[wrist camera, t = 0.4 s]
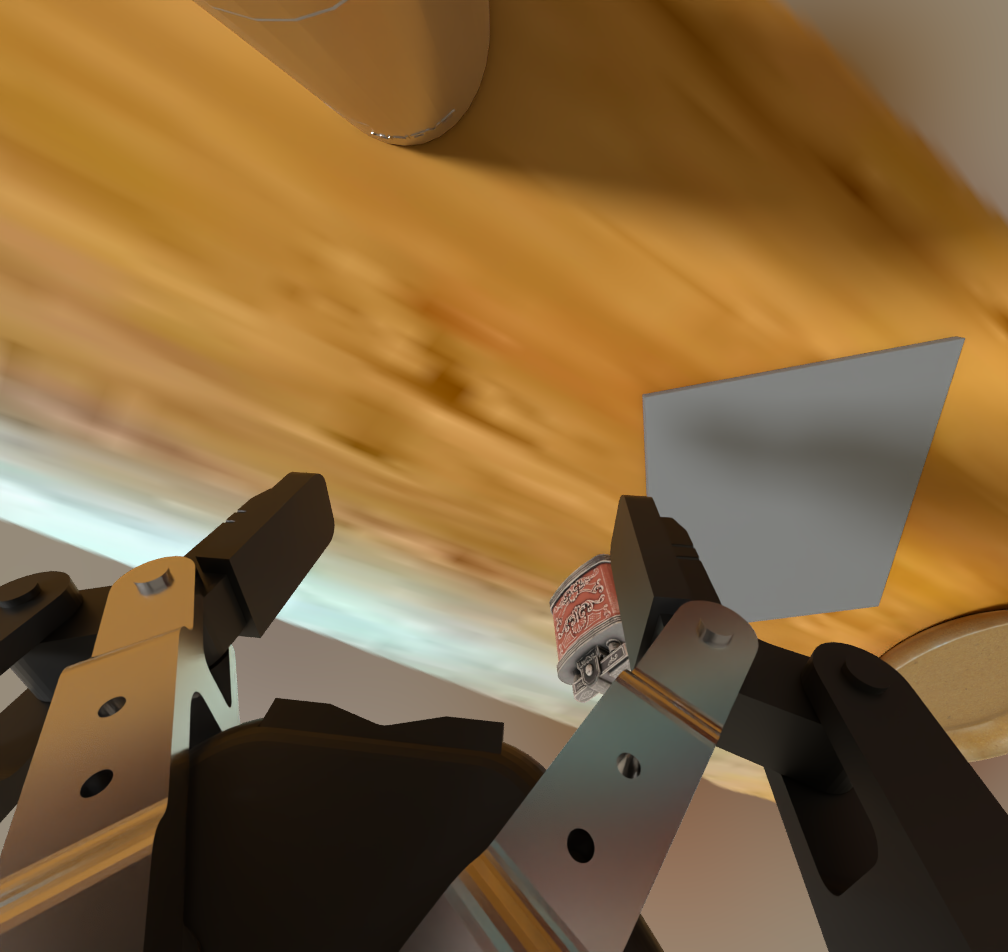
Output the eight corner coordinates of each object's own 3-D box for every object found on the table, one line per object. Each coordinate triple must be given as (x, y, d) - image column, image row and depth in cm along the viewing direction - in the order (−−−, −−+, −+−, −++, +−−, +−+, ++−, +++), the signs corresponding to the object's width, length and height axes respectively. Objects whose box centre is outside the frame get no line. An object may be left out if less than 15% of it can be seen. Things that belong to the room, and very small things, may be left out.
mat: (642, 394, 29) (644, 397, 28) (956, 336, 27) (964, 338, 26) (652, 629, 40) (654, 634, 40) (873, 601, 38) (878, 606, 38)
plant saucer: (910, 759, 52) (934, 790, 49) (785, 691, 45) (804, 721, 42) (1141, 654, 42) (1188, 684, 39) (1021, 547, 35) (1067, 574, 32)
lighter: (569, 617, 40) (586, 722, 31) (541, 602, 39) (550, 706, 30) (627, 565, 37) (664, 665, 28) (598, 547, 36) (627, 645, 27)
